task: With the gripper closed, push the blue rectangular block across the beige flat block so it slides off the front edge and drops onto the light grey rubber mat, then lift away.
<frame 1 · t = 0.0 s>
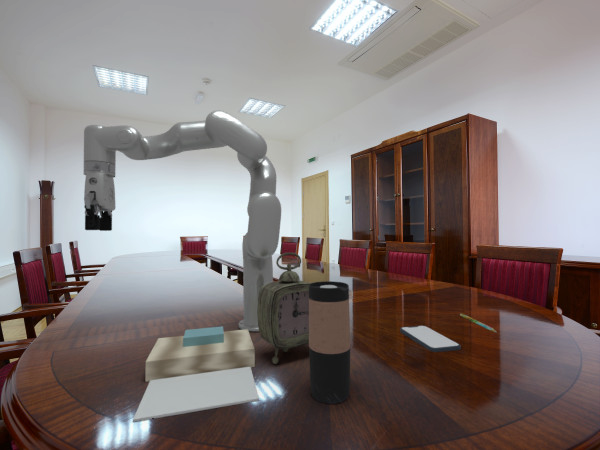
hand: (99, 230, 82), 31 cm above the table, tool pointing down, fingers open, 9 cm apart
travel mug: (330, 394, 54), on the table
beige flat block: (204, 360, 69), on the table
blue rectangular block: (204, 340, 71), point 4 cm above the table, touching beige flat block
pencil: (477, 325, 94), on the table
phone case: (428, 341, 80), on the table
tabletop clock: (289, 355, 71), on the table
mat: (201, 390, 55), on the table
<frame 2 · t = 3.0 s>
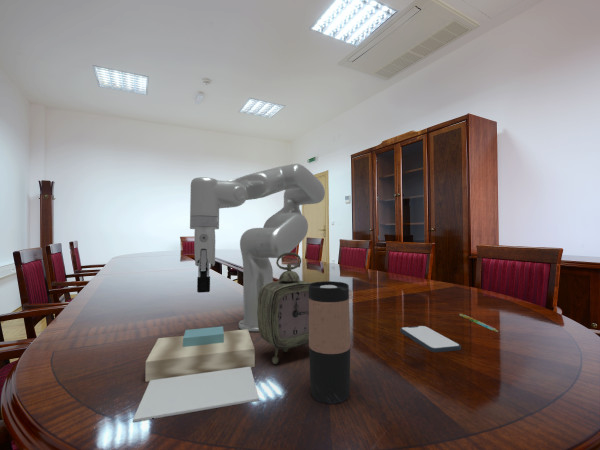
hand: (203, 291, 78), 14 cm above the table, tool pointing down, fingers closed
nothing on the table moved.
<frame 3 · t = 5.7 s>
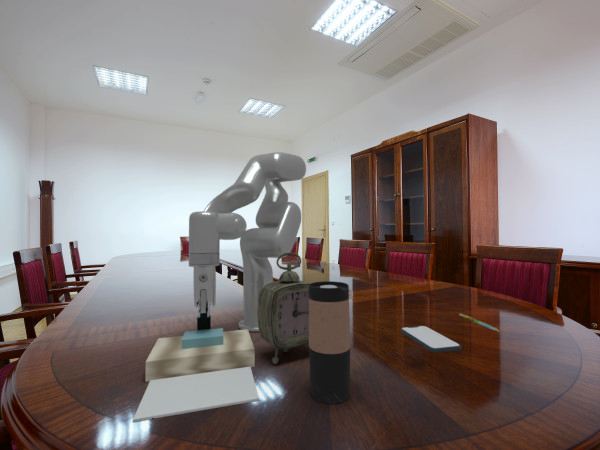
hand: (203, 332, 74), 5 cm above the table, tool pointing down, fingers closed
blue rectangular block: (203, 342, 69), point 4 cm above the table, touching beige flat block
everything else where it was.
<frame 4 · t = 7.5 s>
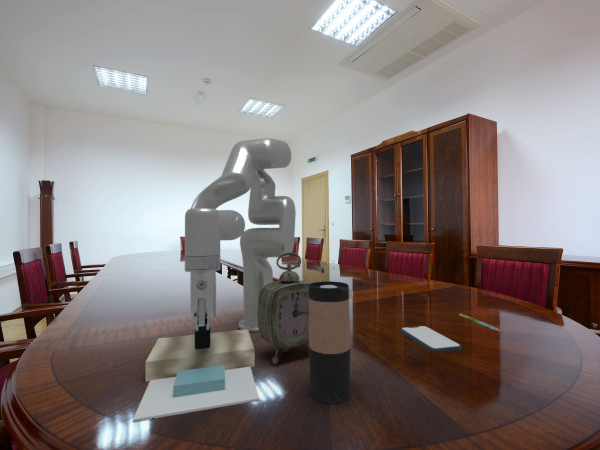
hand: (202, 347, 64), 5 cm above the table, tool pointing down, fingers closed
blue rectangular block: (200, 374, 56), point 2 cm above the table, tilted 180°, touching mat
everything else where it was.
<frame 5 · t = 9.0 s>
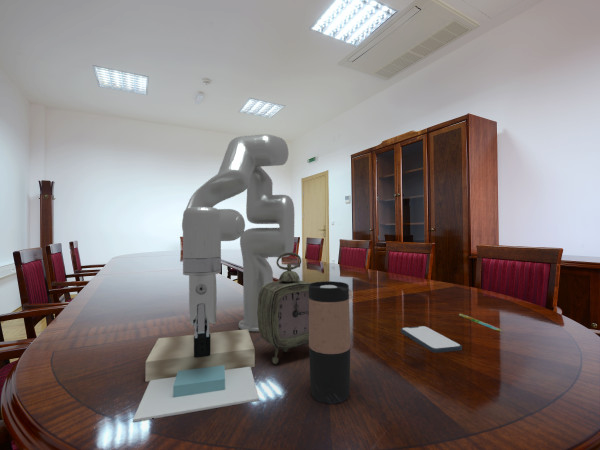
hand: (202, 355, 60), 5 cm above the table, tool pointing down, fingers closed
nothing on the table moved.
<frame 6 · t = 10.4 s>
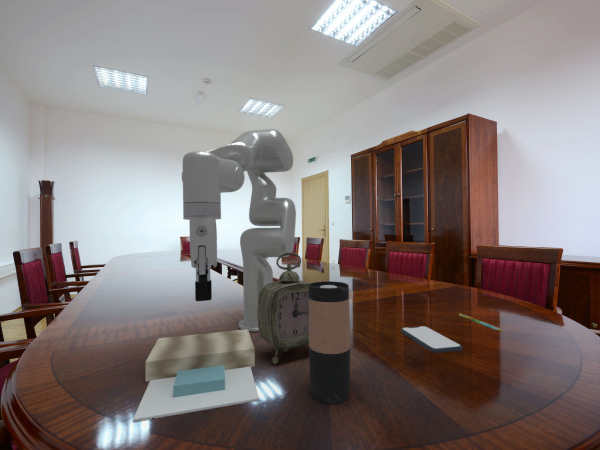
hand: (203, 299, 61), 16 cm above the table, tool pointing down, fingers closed
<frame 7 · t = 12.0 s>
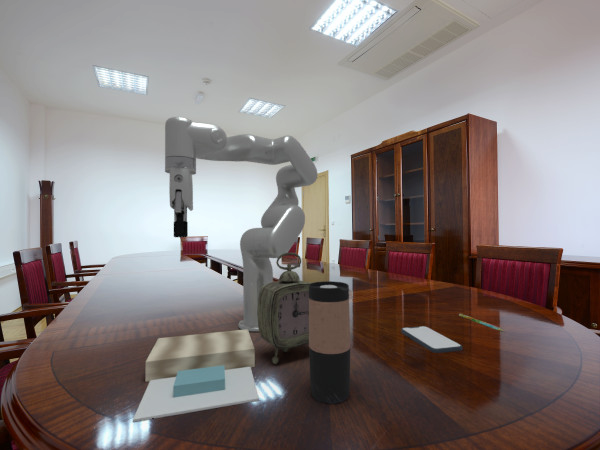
hand: (180, 237, 75), 29 cm above the table, tool pointing down, fingers closed
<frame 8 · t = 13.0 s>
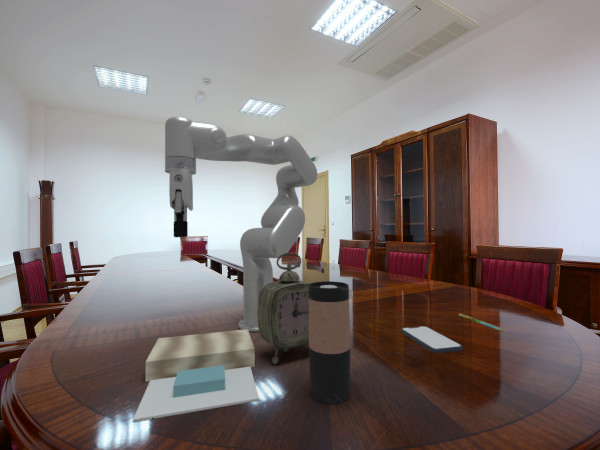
hand: (180, 237, 75), 29 cm above the table, tool pointing down, fingers closed
at the end: blue rectangular block inside the target area (2.1 cm from its centre), point 2.4 cm above the table; blue rectangular block touching mat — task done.
